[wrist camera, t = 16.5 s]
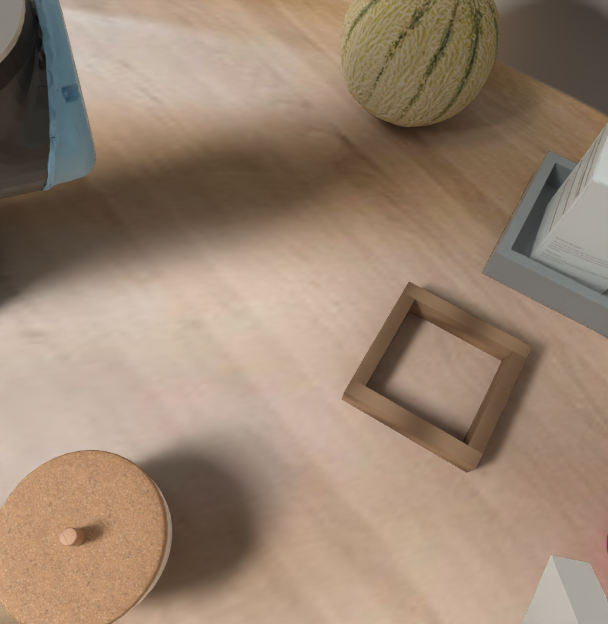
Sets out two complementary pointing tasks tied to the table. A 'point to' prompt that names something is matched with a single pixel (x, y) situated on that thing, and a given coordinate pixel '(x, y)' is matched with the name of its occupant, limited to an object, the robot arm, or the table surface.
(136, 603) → the lidded jar
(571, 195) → the supplement box
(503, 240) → the slate tray
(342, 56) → the cantaloupe
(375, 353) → the walnut collar
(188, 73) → the table surface
